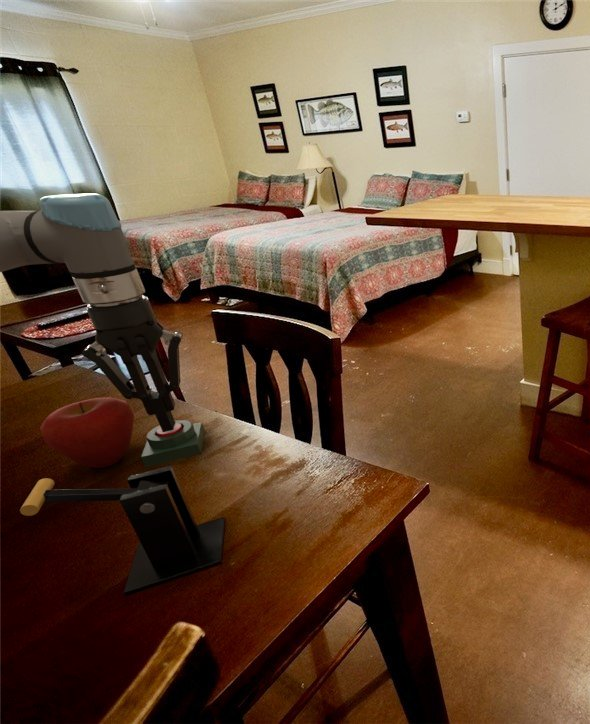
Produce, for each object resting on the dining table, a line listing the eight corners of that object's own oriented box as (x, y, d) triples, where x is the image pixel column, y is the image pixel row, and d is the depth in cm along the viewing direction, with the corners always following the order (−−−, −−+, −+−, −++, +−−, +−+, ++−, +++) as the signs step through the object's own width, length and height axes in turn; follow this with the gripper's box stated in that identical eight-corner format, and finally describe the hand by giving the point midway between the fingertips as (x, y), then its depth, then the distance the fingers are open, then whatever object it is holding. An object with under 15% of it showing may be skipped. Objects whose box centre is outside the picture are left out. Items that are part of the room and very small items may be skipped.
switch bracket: (127, 599, 57) (82, 520, 52) (142, 548, 65) (104, 473, 59) (223, 567, 62) (191, 491, 56) (227, 522, 69) (199, 451, 63)
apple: (154, 437, 88) (129, 380, 83) (140, 470, 80) (112, 409, 75) (78, 453, 84) (47, 394, 79) (54, 489, 75) (18, 426, 70)
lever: (19, 520, 51) (19, 501, 50) (36, 492, 55) (37, 474, 54) (162, 513, 58) (164, 497, 57) (168, 489, 61) (170, 473, 61)
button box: (145, 467, 80) (136, 448, 79) (153, 443, 87) (146, 425, 85) (201, 454, 84) (194, 435, 82) (205, 431, 90) (198, 413, 88)
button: (158, 444, 82) (154, 436, 81) (161, 434, 85) (158, 426, 84) (183, 439, 84) (179, 430, 83) (185, 429, 86) (182, 421, 86)
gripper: (52, 313, 67) (117, 449, 78) (163, 299, 73) (210, 427, 83) (69, 299, 73) (127, 426, 84) (171, 287, 79) (214, 408, 89)
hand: (169, 427), depth 83 cm, fingers closed
